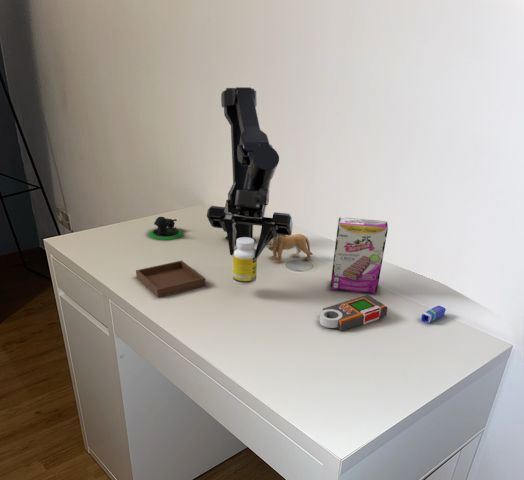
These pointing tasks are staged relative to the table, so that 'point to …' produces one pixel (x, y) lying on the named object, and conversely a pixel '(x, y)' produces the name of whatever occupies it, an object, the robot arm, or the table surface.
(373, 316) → the electronic device
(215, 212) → the robot arm
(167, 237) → the toy figurine
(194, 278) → the tray
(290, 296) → the table surface
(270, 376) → the table surface
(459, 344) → the table surface
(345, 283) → the candy bar box
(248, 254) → the supplement bottle
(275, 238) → the lion figurine
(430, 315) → the eraser
